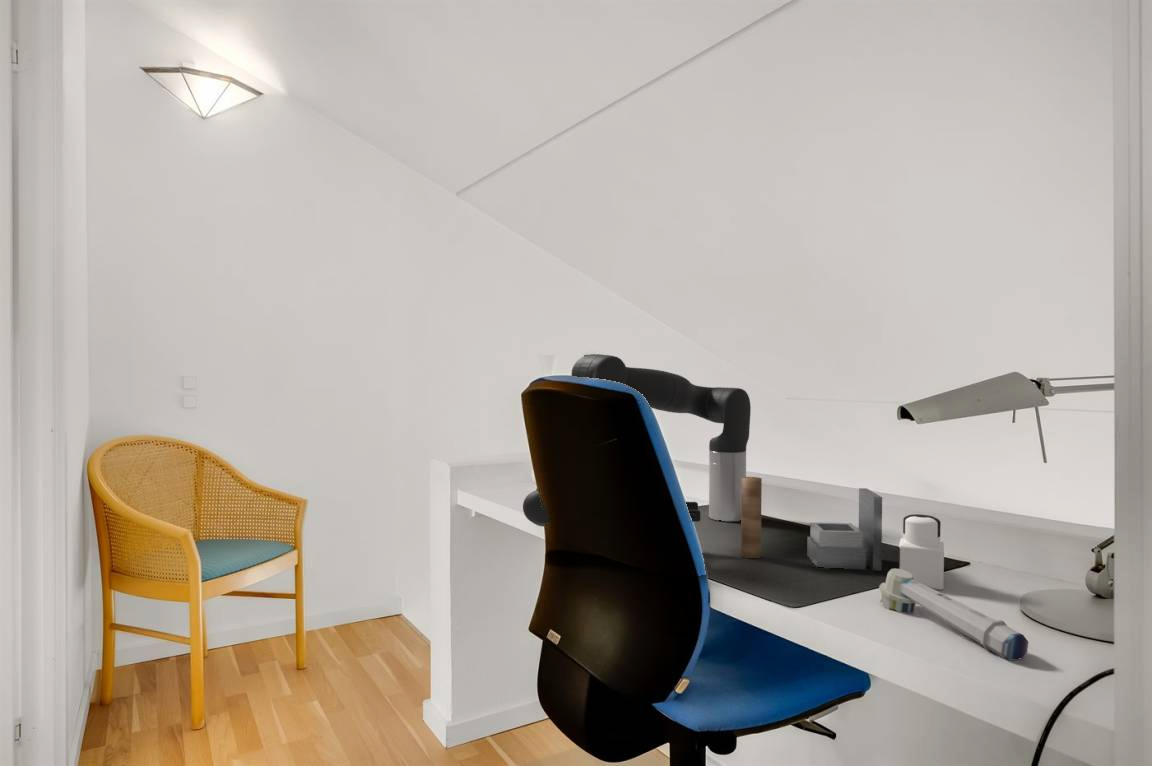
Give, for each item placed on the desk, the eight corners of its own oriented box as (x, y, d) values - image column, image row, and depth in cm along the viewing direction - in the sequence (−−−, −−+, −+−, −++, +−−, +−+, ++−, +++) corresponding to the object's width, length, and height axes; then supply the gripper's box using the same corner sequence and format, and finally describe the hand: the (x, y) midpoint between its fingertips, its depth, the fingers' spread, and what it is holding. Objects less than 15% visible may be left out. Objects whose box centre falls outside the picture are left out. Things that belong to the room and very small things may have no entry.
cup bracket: (806, 555, 150) (807, 487, 149) (866, 556, 148) (866, 488, 148) (817, 568, 140) (818, 496, 139) (881, 570, 139) (882, 497, 138)
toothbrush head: (1003, 635, 96) (875, 560, 119) (996, 682, 97) (870, 599, 120) (1034, 631, 97) (901, 558, 121) (1027, 677, 98) (897, 596, 122)
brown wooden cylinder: (739, 553, 151) (740, 476, 151) (759, 554, 151) (760, 476, 150) (742, 558, 147) (742, 479, 147) (762, 559, 147) (763, 480, 146)
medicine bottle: (900, 574, 136) (900, 510, 136) (942, 579, 133) (943, 514, 132) (898, 585, 129) (899, 518, 129) (943, 590, 126) (944, 521, 126)
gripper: (618, 498, 144) (701, 499, 143) (621, 486, 158) (697, 487, 157) (618, 535, 144) (701, 537, 143) (621, 520, 159) (697, 522, 157)
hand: (699, 511), depth 150 cm, fingers open, 8 cm apart
